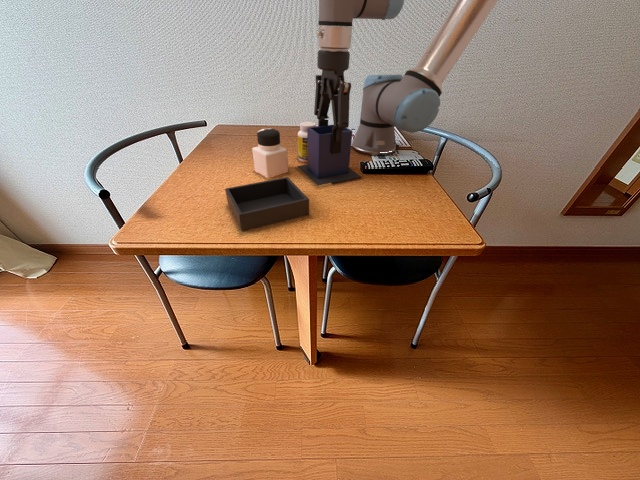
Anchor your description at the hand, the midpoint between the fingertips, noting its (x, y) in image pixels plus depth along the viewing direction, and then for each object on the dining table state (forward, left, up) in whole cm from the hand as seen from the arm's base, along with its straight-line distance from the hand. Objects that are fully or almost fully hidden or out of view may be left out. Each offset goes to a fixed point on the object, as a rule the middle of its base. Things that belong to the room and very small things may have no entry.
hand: (328, 148), depth 80 cm
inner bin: (0, 0, -7) cm, 7 cm away
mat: (0, 0, -7) cm, 7 cm away
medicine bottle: (+15, -7, -8) cm, 18 cm away
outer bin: (+23, +13, -7) cm, 27 cm away
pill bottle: (+1, -12, -8) cm, 14 cm away
